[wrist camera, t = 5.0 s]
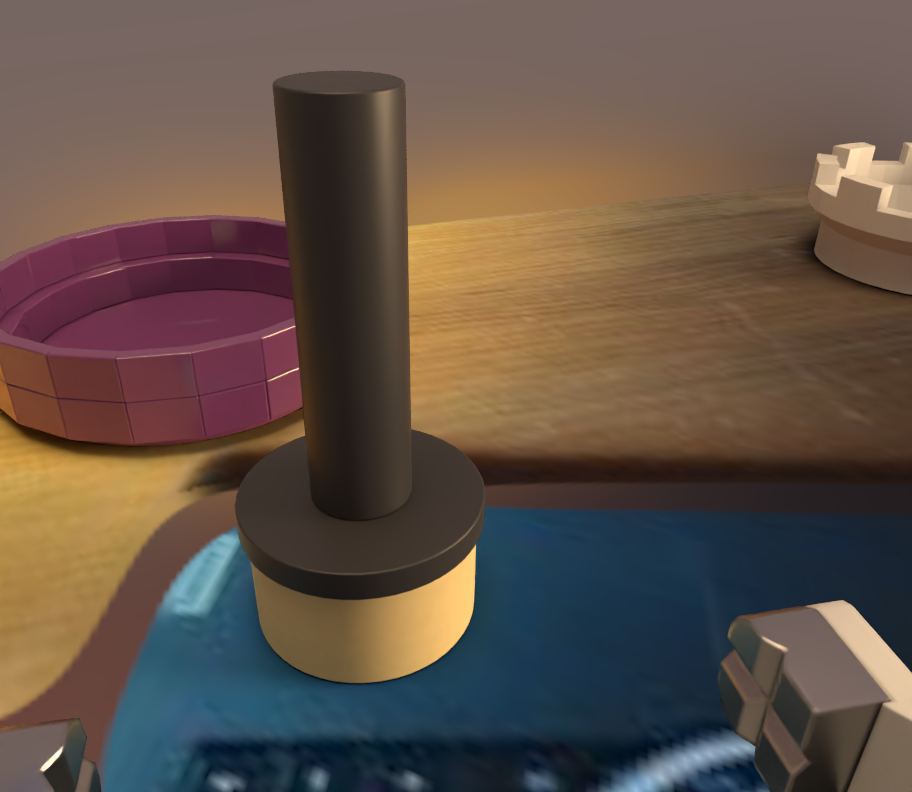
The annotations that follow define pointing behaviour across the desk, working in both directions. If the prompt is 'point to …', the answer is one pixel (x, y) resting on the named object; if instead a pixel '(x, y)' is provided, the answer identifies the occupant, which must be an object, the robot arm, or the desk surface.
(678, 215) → the desk surface
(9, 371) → the plum bowl
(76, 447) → the desk surface
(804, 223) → the desk surface
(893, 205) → the flag stand
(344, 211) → the dish brush
